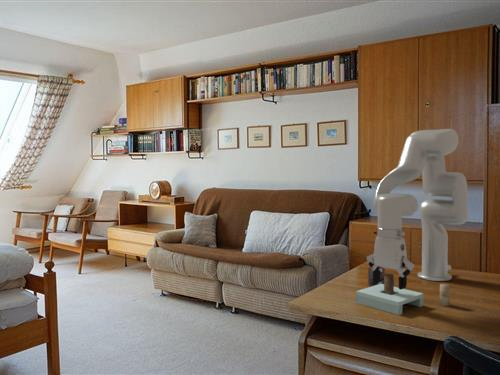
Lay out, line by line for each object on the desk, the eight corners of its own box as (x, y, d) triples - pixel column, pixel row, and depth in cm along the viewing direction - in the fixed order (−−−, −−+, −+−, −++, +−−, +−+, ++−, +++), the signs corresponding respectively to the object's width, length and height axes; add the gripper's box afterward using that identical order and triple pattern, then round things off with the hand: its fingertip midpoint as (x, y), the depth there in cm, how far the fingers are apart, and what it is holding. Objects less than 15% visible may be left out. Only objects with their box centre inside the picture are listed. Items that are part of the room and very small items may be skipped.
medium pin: (442, 302, 148) (442, 283, 147) (451, 304, 145) (451, 285, 145) (437, 304, 146) (438, 285, 146) (446, 306, 144) (446, 286, 143)
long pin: (387, 302, 149) (387, 272, 149) (395, 304, 147) (395, 274, 146) (382, 304, 147) (382, 274, 147) (390, 306, 145) (390, 275, 144)
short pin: (388, 290, 163) (388, 276, 163) (396, 291, 161) (396, 277, 161) (385, 291, 161) (385, 277, 161) (393, 292, 159) (393, 278, 159)
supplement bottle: (385, 289, 164) (385, 259, 163) (368, 289, 165) (368, 258, 164) (383, 285, 170) (383, 255, 169) (367, 284, 171) (367, 255, 170)
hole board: (381, 294, 158) (381, 283, 157) (423, 305, 145) (423, 293, 145) (356, 302, 149) (356, 291, 149) (398, 315, 136) (398, 302, 136)
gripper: (420, 235, 141) (419, 288, 142) (374, 229, 155) (374, 278, 156) (406, 238, 137) (406, 293, 137) (360, 231, 150) (360, 282, 151)
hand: (389, 285), depth 147 cm, fingers open, 9 cm apart
